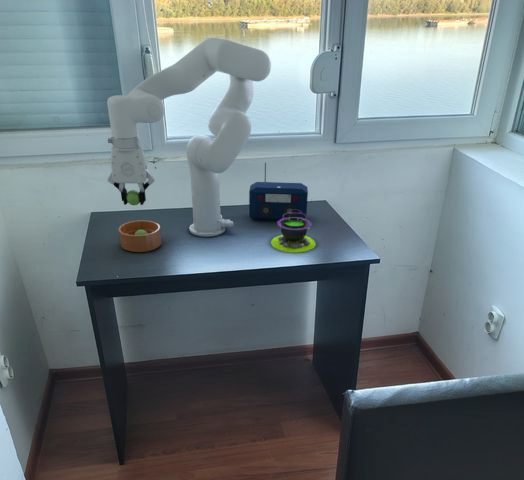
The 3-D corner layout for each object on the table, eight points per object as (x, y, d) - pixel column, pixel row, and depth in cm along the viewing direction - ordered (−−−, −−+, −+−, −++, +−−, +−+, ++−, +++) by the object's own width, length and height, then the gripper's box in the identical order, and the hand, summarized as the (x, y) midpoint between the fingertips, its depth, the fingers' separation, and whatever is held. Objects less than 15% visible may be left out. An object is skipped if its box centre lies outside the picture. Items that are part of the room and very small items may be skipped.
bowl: (164, 237, 177) (163, 220, 174) (157, 253, 166) (156, 236, 163) (126, 236, 177) (123, 219, 174) (116, 253, 166) (114, 235, 163)
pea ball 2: (149, 241, 174) (150, 228, 171) (147, 246, 170) (147, 233, 167) (135, 240, 173) (136, 226, 171) (132, 244, 169) (132, 231, 167)
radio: (249, 221, 191) (249, 166, 179) (250, 213, 198) (250, 159, 186) (305, 223, 190) (309, 167, 178) (305, 214, 197) (309, 160, 186)
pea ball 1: (143, 202, 165) (141, 188, 162) (140, 207, 161) (138, 192, 158) (128, 202, 165) (126, 187, 162) (125, 207, 161) (123, 192, 158)
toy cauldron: (324, 243, 175) (327, 211, 169) (296, 256, 166) (297, 224, 160) (290, 231, 184) (292, 200, 177) (261, 243, 175) (262, 211, 168)
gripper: (94, 145, 149) (104, 207, 160) (152, 146, 149) (159, 208, 160) (100, 138, 155) (110, 199, 166) (157, 139, 155) (163, 199, 166)
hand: (134, 202), depth 163 cm, fingers closed on pea ball 1, 4 cm apart
